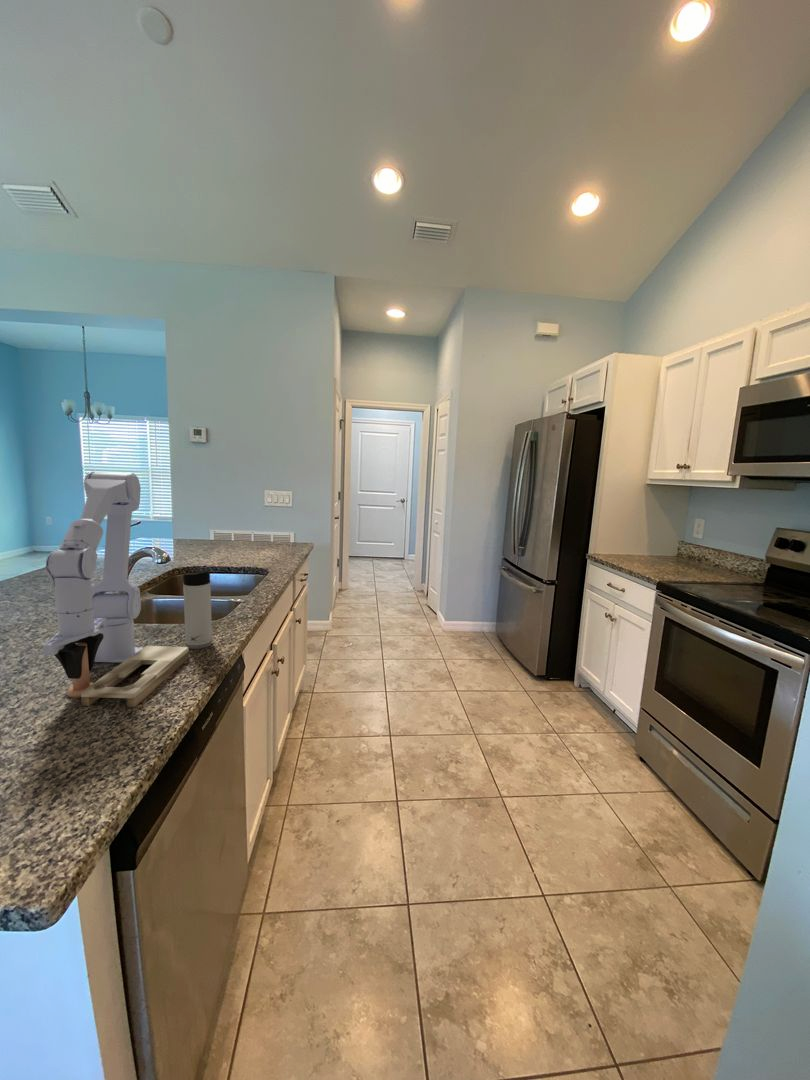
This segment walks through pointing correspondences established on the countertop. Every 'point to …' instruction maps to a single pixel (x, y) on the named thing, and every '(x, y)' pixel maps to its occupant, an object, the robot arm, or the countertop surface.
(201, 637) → the travel mug
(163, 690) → the countertop surface
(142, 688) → the keyhole plate
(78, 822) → the countertop surface
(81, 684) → the terracotta peg
